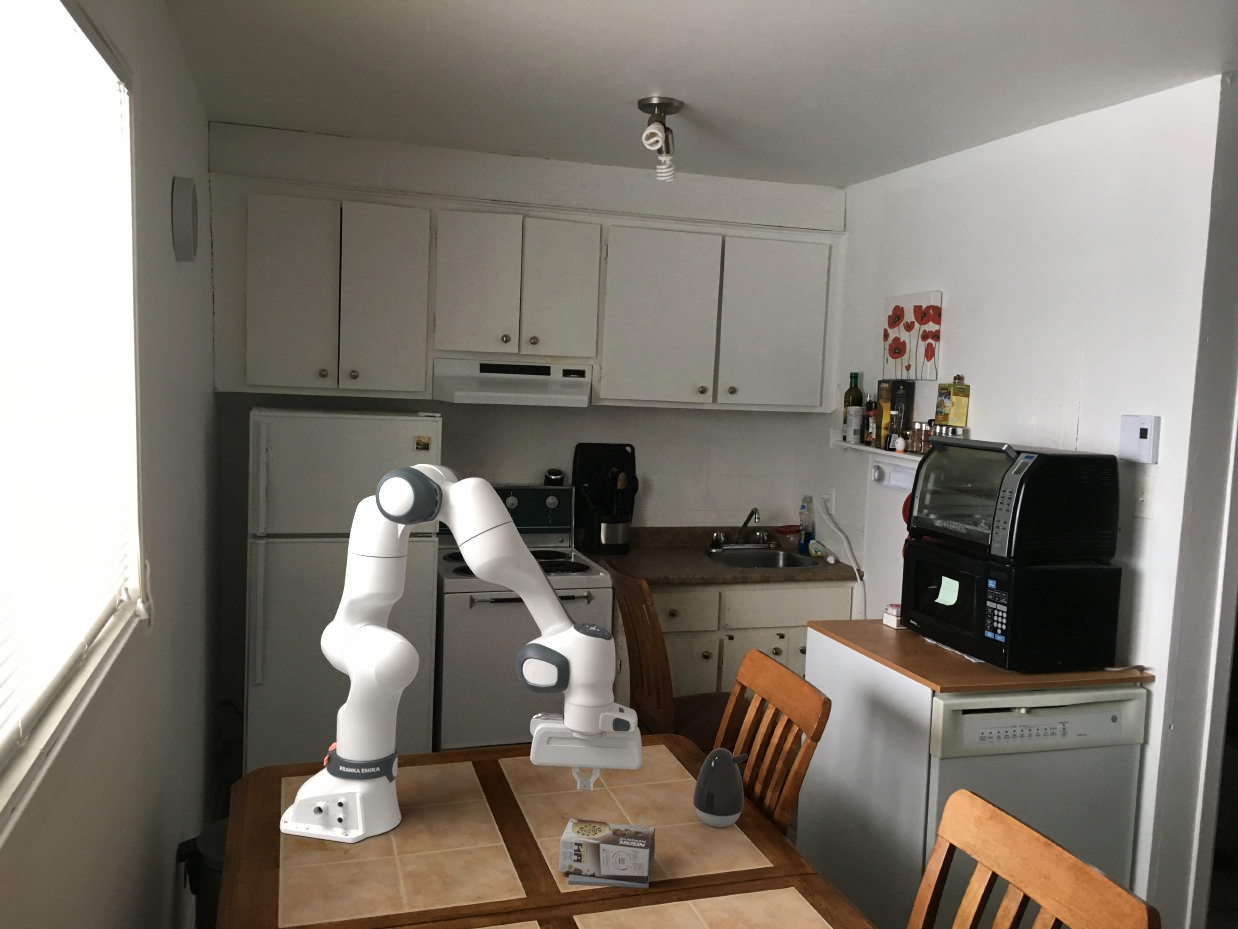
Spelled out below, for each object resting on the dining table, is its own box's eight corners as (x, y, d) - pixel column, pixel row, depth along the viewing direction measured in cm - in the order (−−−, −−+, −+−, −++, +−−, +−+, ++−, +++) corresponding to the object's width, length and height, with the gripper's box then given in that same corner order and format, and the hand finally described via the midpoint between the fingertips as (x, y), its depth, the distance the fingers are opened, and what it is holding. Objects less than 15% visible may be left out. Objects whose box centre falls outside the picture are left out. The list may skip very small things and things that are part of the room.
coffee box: (558, 873, 169) (648, 885, 166) (559, 838, 169) (650, 849, 166) (569, 850, 178) (654, 860, 175) (570, 816, 178) (656, 826, 175)
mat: (568, 884, 167) (568, 880, 167) (572, 845, 181) (572, 842, 181) (648, 888, 167) (648, 884, 167) (645, 849, 181) (646, 846, 181)
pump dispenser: (746, 834, 189) (751, 760, 188) (694, 832, 189) (698, 757, 187) (740, 811, 199) (744, 741, 198) (690, 809, 199) (694, 738, 198)
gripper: (529, 718, 168) (525, 794, 169) (645, 723, 168) (641, 799, 170) (532, 706, 175) (529, 779, 176) (644, 711, 175) (640, 784, 176)
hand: (585, 789), depth 173 cm, fingers closed
